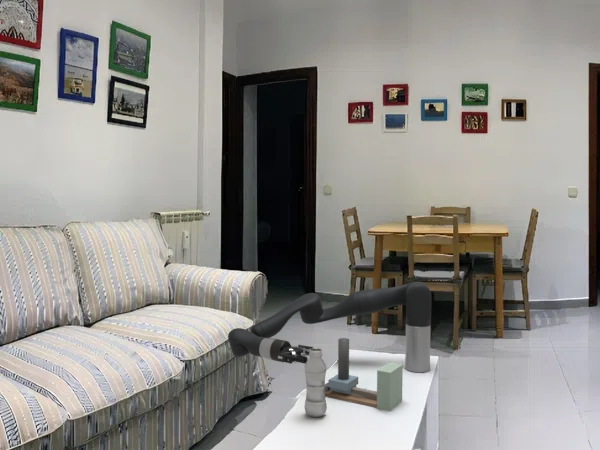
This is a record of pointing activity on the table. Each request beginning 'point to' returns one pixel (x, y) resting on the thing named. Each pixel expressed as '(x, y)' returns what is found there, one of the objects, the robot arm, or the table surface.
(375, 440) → the table surface
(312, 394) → the plastic bottle
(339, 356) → the cylinder
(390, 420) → the table surface
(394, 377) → the gauge cabinet
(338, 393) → the rail
